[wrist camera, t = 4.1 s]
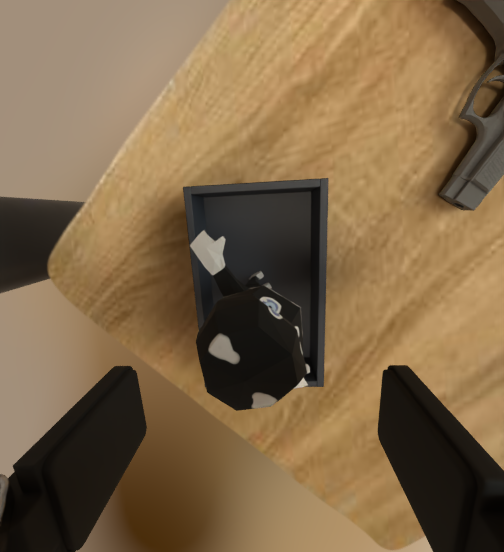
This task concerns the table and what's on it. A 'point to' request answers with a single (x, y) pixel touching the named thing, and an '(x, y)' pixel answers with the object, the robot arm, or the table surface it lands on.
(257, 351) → the toy
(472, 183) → the handgun
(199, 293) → the dark grey open box
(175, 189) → the table surface
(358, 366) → the table surface
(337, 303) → the table surface
